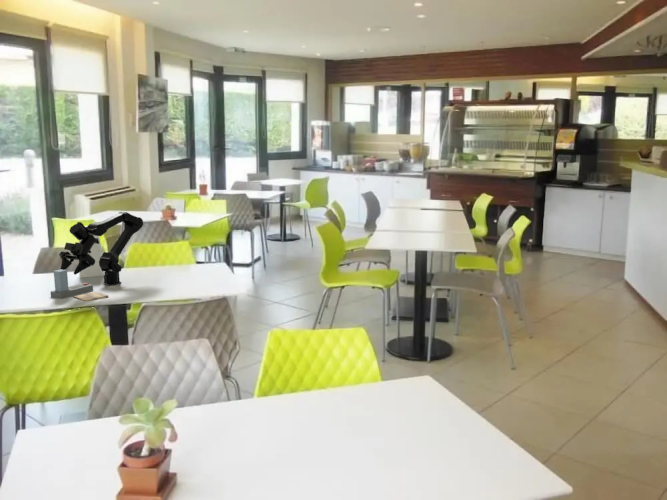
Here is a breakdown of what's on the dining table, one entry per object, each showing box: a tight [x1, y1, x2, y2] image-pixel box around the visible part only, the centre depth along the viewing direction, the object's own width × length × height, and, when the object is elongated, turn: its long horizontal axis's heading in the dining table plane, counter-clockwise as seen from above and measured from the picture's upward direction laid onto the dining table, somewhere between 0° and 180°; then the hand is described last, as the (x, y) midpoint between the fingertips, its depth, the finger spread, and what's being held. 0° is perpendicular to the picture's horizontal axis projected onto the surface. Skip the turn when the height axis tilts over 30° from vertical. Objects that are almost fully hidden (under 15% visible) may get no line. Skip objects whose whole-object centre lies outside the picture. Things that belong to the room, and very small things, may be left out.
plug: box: [53, 269, 69, 293], centre depth 293 cm, size 4×4×12 cm
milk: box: [78, 225, 105, 279], centre depth 337 cm, size 12×12×26 cm
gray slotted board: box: [50, 282, 94, 300], centre depth 298 cm, size 18×7×4 cm, turn 151°
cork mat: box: [72, 291, 109, 303], centre depth 292 cm, size 11×11×1 cm
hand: (67, 273), depth 295 cm, fingers open, 9 cm apart
